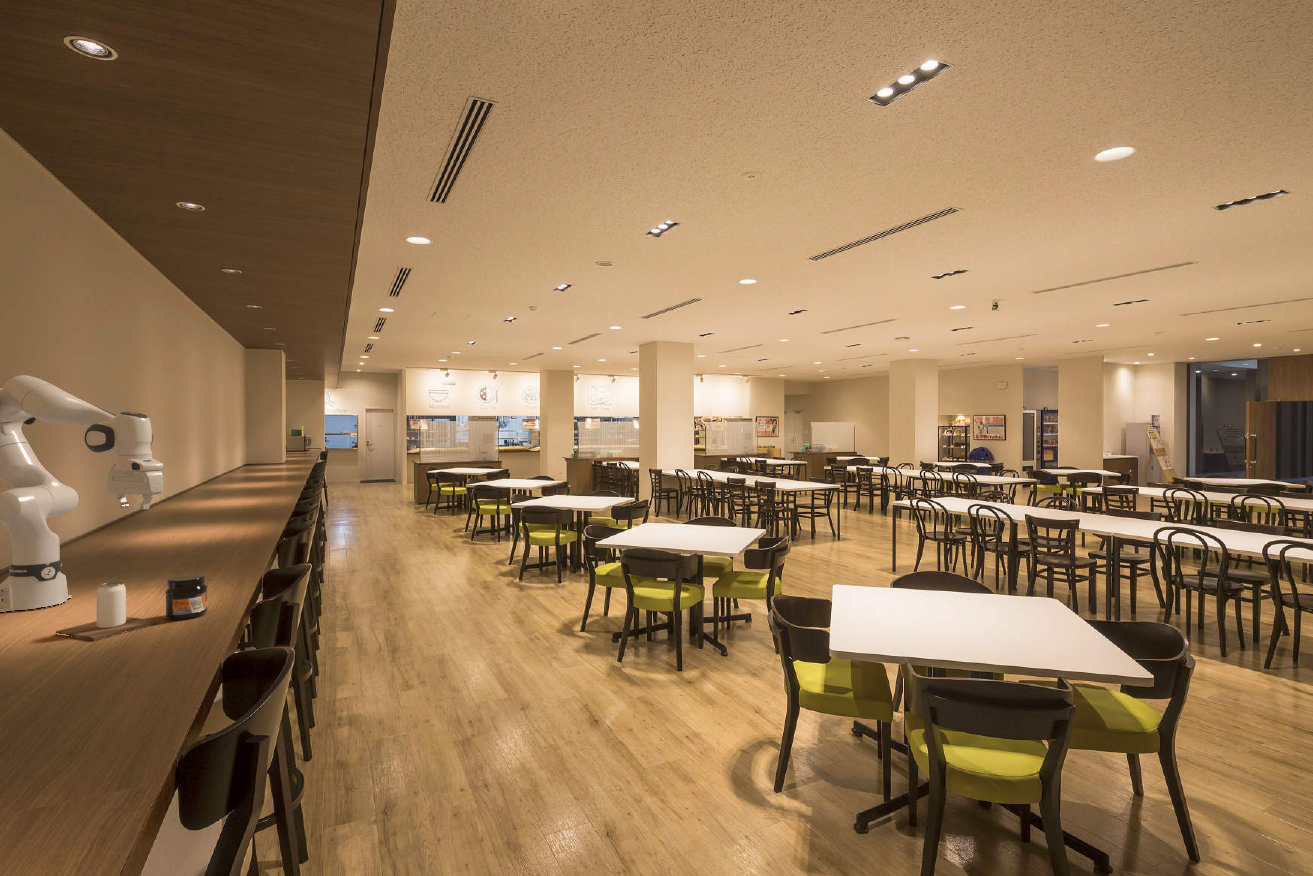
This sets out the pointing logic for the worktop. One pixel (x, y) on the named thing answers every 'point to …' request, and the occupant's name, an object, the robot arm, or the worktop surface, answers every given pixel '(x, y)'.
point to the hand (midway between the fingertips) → (134, 508)
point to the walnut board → (95, 633)
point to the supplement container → (186, 597)
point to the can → (111, 605)
